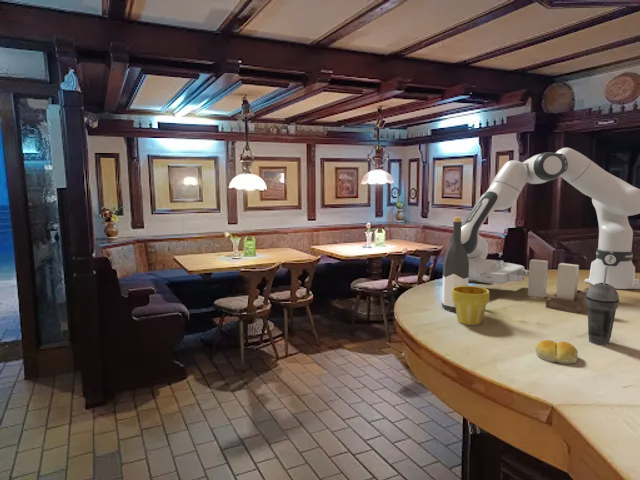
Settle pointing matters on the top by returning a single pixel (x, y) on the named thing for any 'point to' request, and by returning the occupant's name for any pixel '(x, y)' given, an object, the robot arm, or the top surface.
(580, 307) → the wooden divided tray
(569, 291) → the clay strip
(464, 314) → the plant pot
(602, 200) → the robot arm
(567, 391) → the top surface
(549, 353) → the bread roll
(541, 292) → the clay strip
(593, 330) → the beverage cup
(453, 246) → the wine bottle
